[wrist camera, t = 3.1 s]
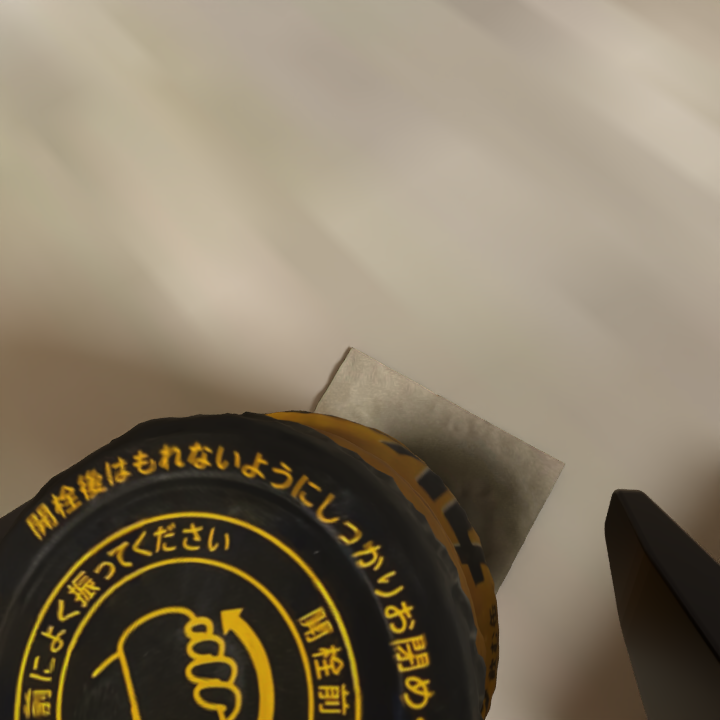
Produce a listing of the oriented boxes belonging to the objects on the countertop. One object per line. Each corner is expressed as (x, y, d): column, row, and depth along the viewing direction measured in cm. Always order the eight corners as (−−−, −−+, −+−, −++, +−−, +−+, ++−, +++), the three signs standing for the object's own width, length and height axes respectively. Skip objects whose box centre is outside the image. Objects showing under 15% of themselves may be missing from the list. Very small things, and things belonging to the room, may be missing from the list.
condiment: (212, 583, 17) (-301, 812, 5) (353, 348, 18) (190, 92, 6) (421, 733, 15) (363, 1584, 3) (563, 463, 16) (889, 415, 4)
